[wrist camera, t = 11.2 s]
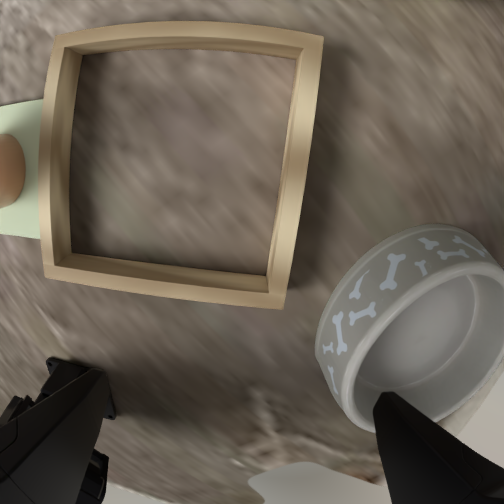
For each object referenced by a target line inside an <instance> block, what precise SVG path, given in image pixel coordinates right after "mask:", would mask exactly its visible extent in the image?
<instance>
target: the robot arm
mask: <svg viewBox="0 0 504 504" xmlns="http://www.w3.org/2000/svg"><path fill="white" fill-rule="evenodd" d="M46 365H47V368H48V371H49V374H50V376H49V378H48V379H47V381H46V382H45V384H44V385H43V387H42V388H41V393H40V394H39V396H38V397H37V399H36V400H35V402H34V401H32V398H30V397H29V396H28V395H26V397H25V398H24V399H23V398H20V397H18V396H14V397H13V399H12V400H11V401H10V403H9V404H8V406H7V407H6V409H5V410H4V412H3V414H2V415H1V417H0V504H101V503H102V501H103V499H104V497H105V493H106V484H107V472H108V462H109V457H108V456H106V455H105V454H102V453H100V452H99V451H97V450H96V449H94V446H95V444H96V441H97V438H98V435H99V432H100V429H101V425H102V420H103V418H106V419H110V420H115V418H116V412H115V409H114V405H113V401H112V397H111V392H110V388H109V384H108V379H107V376H106V372H105V371H104V370H100V369H96V368H93V369H89V368H85V367H82V366H78V365H74V364H70V363H67V362H63V361H60V360H57V359H53V358H48V359H47V360H46ZM373 419H374V425H375V431H376V438H377V444H378V450H379V454H380V458H381V461H382V465H383V469H384V473H385V477H386V481H387V485H388V489H389V493H390V497H391V501H392V504H504V469H503V468H502V467H500V466H498V465H496V464H495V463H493V462H491V461H489V460H488V459H486V458H484V457H483V456H481V455H480V454H478V453H477V452H475V451H474V450H472V449H471V448H469V447H468V446H467V445H465V444H463V443H462V442H461V441H459V440H458V439H457V438H456V437H454V436H453V435H451V434H450V433H449V432H447V431H446V430H445V429H443V428H442V427H441V426H439V425H438V424H437V423H435V422H434V421H433V420H431V419H430V418H428V417H427V416H426V415H424V414H423V413H422V412H420V411H419V410H418V409H416V408H415V407H414V406H412V405H411V404H410V403H408V402H407V401H406V400H405V399H403V398H402V397H401V396H399V395H398V394H397V393H395V392H394V391H384V392H382V393H381V394H380V396H379V398H378V400H377V402H376V404H375V405H374V407H373Z"/></svg>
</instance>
